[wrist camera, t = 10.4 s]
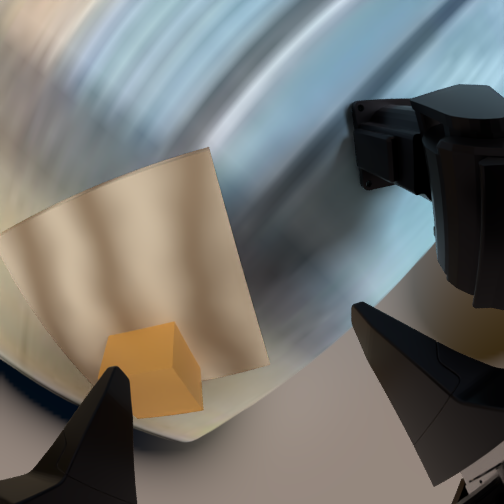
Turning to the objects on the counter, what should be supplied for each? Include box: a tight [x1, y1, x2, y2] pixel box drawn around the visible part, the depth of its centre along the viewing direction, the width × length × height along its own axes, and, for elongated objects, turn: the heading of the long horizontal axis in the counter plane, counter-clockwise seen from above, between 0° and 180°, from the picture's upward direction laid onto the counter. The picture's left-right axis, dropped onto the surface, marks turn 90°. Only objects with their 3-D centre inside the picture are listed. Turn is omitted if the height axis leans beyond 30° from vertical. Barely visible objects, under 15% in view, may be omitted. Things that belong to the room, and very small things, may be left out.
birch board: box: [0, 147, 270, 386], centre depth 19 cm, size 18×19×5 cm
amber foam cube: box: [98, 321, 203, 419], centre depth 20 cm, size 6×6×4 cm
